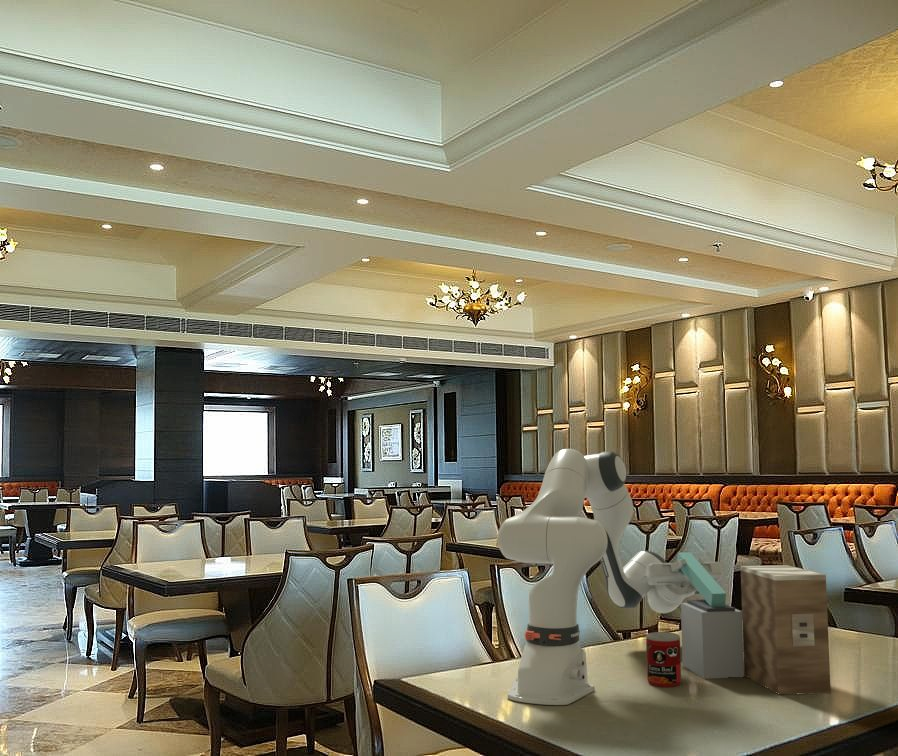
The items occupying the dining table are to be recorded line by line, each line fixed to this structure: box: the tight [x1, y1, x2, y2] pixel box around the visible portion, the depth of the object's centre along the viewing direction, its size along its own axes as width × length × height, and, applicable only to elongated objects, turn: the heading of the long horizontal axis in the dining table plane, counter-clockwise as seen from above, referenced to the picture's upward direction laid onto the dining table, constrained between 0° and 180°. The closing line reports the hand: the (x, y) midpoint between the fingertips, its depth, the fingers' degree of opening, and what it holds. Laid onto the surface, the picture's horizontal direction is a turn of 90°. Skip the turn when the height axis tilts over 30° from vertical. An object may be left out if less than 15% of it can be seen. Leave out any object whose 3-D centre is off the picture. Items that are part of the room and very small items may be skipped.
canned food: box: [645, 631, 682, 688], centre depth 208 cm, size 8×8×11 cm
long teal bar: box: [676, 551, 727, 607], centre depth 227 cm, size 24×4×4 cm, turn 6°
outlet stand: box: [740, 564, 832, 695], centre depth 207 cm, size 19×12×26 cm, turn 6°
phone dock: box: [680, 599, 745, 680], centre depth 220 cm, size 14×10×16 cm
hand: (692, 561), depth 233 cm, fingers closed on long teal bar, 3 cm apart
